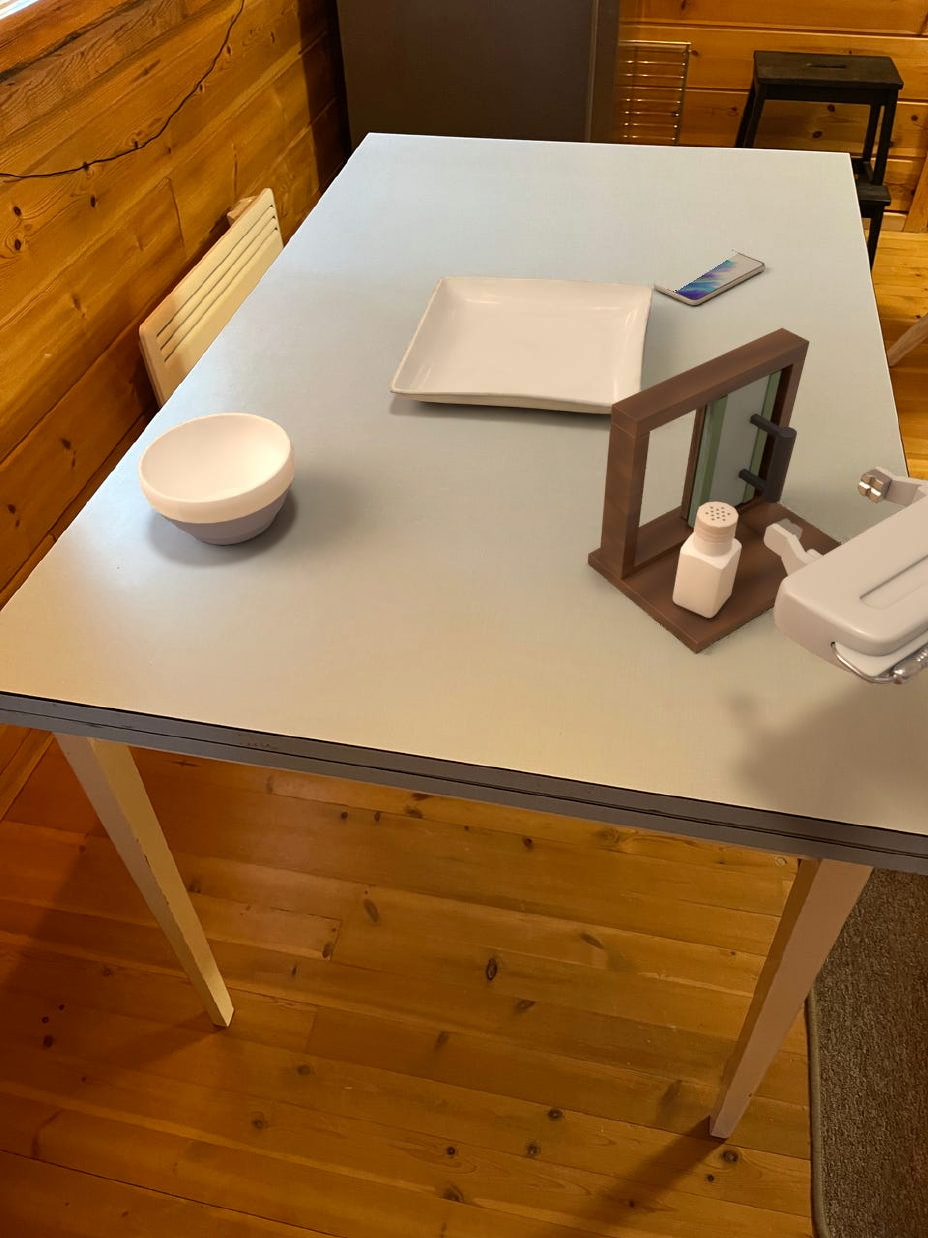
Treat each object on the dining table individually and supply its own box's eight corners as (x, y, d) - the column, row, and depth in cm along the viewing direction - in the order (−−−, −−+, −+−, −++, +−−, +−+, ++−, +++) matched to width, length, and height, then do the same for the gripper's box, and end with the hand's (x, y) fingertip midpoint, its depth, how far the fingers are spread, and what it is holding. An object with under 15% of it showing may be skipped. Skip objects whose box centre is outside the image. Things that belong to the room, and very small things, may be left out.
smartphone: (768, 263, 123) (694, 301, 117) (766, 269, 124) (693, 308, 118) (724, 246, 127) (651, 282, 121) (723, 252, 128) (650, 288, 121)
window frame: (849, 560, 84) (907, 389, 71) (695, 653, 77) (730, 482, 64) (734, 485, 92) (768, 320, 80) (587, 563, 85) (599, 395, 73)
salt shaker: (711, 623, 78) (730, 536, 71) (668, 604, 79) (682, 518, 73) (732, 595, 80) (752, 509, 73) (690, 577, 82) (706, 491, 75)
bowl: (328, 485, 95) (317, 422, 90) (266, 578, 86) (249, 514, 80) (203, 464, 99) (185, 402, 93) (130, 552, 89) (105, 489, 84)
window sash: (787, 521, 85) (822, 391, 75) (729, 554, 82) (757, 423, 72) (744, 493, 88) (772, 365, 78) (687, 524, 85) (709, 394, 75)
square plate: (441, 300, 122) (439, 271, 119) (651, 311, 118) (654, 282, 115) (389, 414, 104) (385, 384, 101) (636, 433, 99) (639, 402, 96)
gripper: (870, 730, 55) (704, 597, 63) (1076, 586, 62) (902, 485, 70) (902, 659, 50) (718, 526, 58) (1119, 513, 57) (928, 413, 66)
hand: (820, 502), depth 64 cm, fingers open, 8 cm apart
